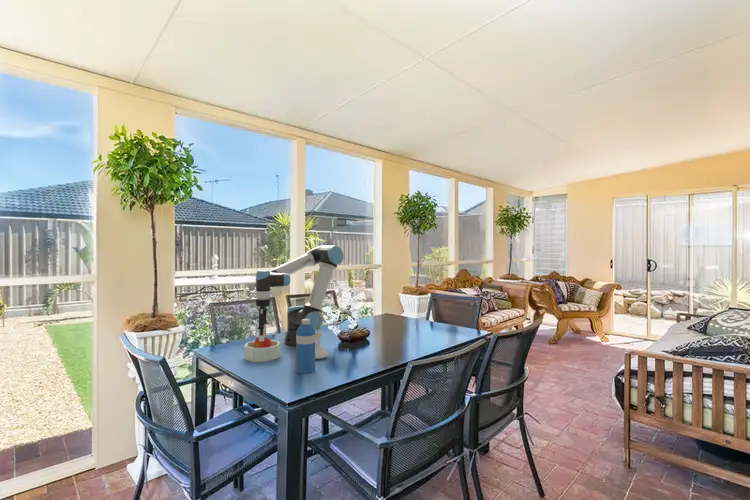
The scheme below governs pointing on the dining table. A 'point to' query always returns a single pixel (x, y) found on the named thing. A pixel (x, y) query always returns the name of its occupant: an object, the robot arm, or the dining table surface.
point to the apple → (262, 343)
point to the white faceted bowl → (261, 352)
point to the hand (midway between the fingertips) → (262, 338)
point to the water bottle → (305, 348)
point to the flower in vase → (319, 351)
